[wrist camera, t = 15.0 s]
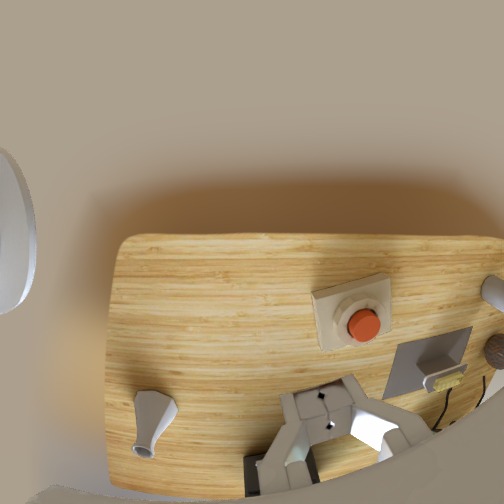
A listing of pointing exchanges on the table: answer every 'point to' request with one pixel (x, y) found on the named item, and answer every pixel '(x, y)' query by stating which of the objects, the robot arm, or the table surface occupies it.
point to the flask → (151, 420)
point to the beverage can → (493, 292)
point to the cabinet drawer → (252, 472)
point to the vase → (495, 351)
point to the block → (350, 309)
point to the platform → (428, 364)
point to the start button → (364, 325)
